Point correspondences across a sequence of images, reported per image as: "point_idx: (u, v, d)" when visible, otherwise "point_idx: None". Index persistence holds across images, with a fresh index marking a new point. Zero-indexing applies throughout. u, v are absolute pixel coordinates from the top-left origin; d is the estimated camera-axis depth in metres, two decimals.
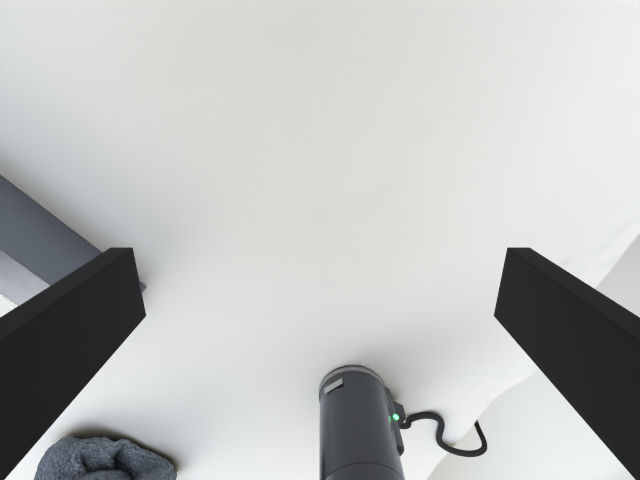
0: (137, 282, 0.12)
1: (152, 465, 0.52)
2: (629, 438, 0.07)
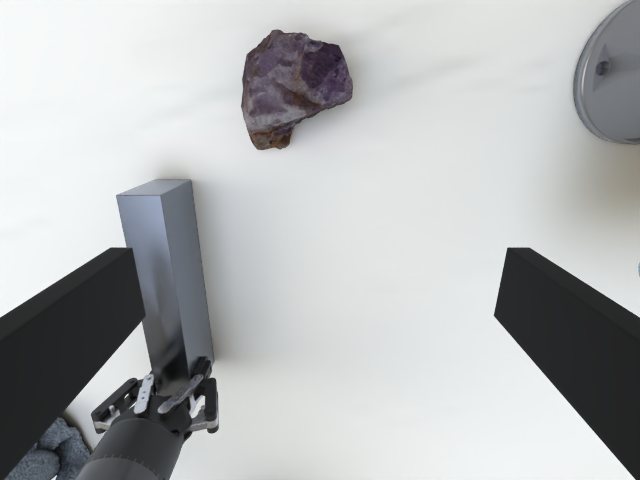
0: (137, 282, 0.12)
1: (82, 463, 0.56)
2: (629, 438, 0.07)
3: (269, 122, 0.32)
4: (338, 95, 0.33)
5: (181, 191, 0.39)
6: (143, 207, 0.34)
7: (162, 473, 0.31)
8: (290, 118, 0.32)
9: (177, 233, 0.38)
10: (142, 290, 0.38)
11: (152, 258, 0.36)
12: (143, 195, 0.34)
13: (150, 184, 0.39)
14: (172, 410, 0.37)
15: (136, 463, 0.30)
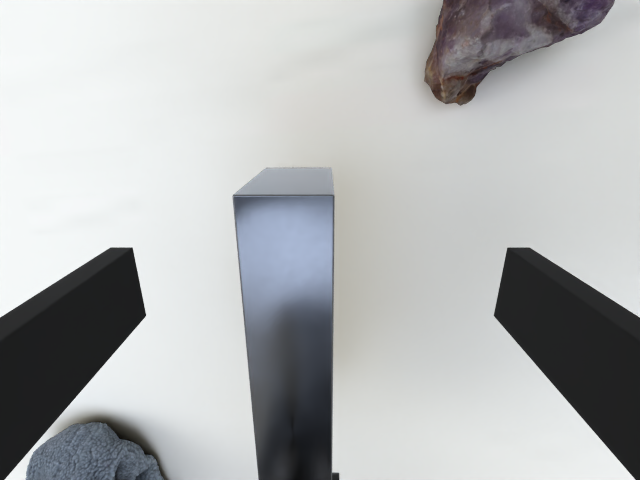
0: (137, 282, 0.12)
1: None
2: (629, 438, 0.07)
3: (501, 52, 0.22)
4: (594, 15, 0.23)
5: None
6: (291, 222, 0.15)
7: None
8: (529, 47, 0.22)
9: None
10: (264, 389, 0.18)
11: (293, 329, 0.17)
12: (295, 196, 0.15)
13: (272, 174, 0.20)
14: None
15: None
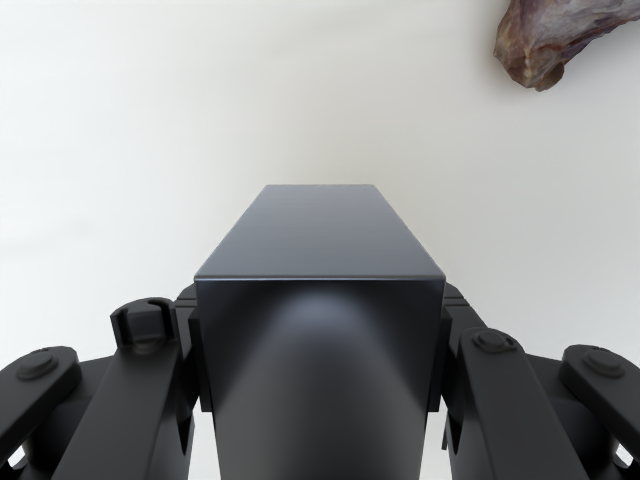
0: None
1: None
2: None
3: None
4: None
5: None
6: (337, 336, 0.06)
7: None
8: None
9: None
10: None
11: None
12: (351, 279, 0.06)
13: (279, 202, 0.11)
14: None
15: None
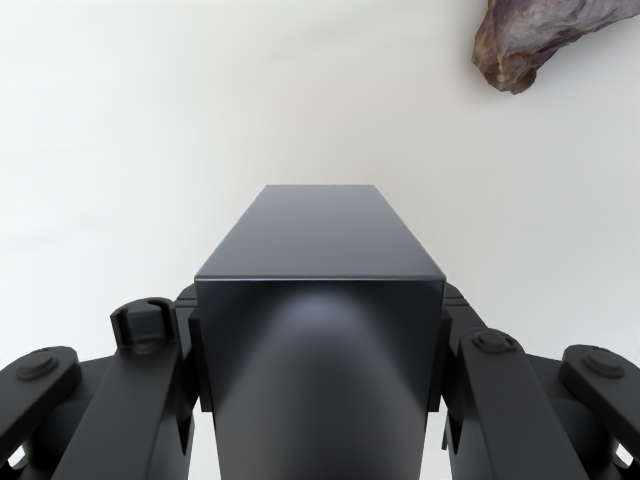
0: None
1: None
2: None
3: (604, 13, 0.16)
4: None
5: None
6: (338, 336, 0.06)
7: None
8: None
9: None
10: None
11: None
12: (351, 280, 0.06)
13: (279, 202, 0.11)
14: None
15: None
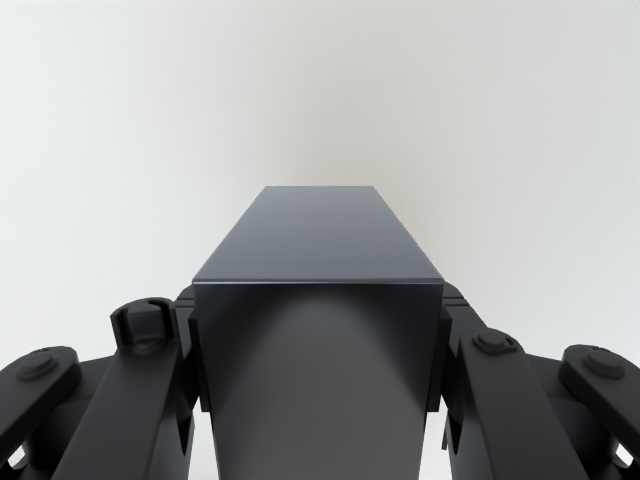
0: None
1: None
2: None
3: None
4: None
5: None
6: (336, 340, 0.06)
7: None
8: None
9: None
10: None
11: None
12: (349, 283, 0.06)
13: (278, 204, 0.11)
14: None
15: None
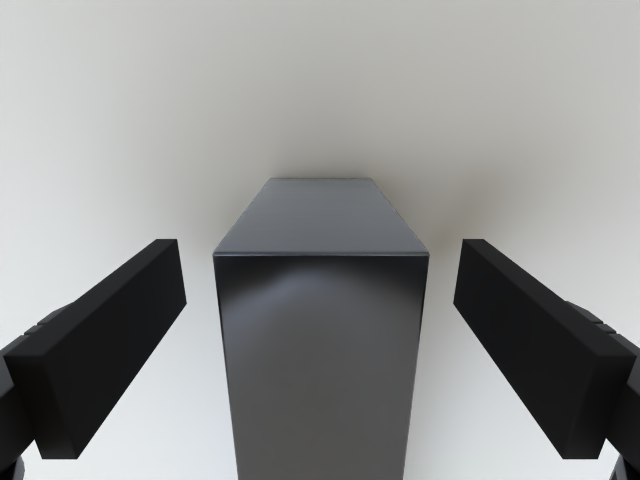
0: (180, 271, 0.13)
1: None
2: (546, 405, 0.08)
3: None
4: None
5: None
6: (336, 305, 0.07)
7: None
8: None
9: None
10: None
11: None
12: (348, 255, 0.07)
13: (283, 193, 0.12)
14: None
15: None
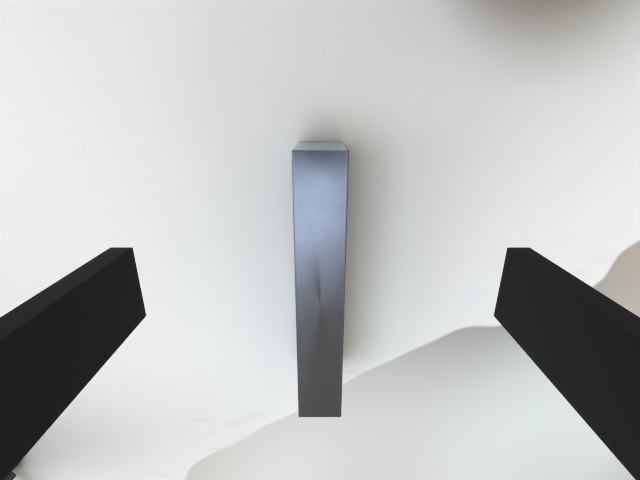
0: (137, 282, 0.12)
1: None
2: (629, 438, 0.07)
3: None
4: None
5: None
6: (324, 166, 0.27)
7: None
8: None
9: None
10: (303, 273, 0.30)
11: (322, 233, 0.29)
12: (327, 151, 0.27)
13: (306, 144, 0.32)
14: None
15: None
